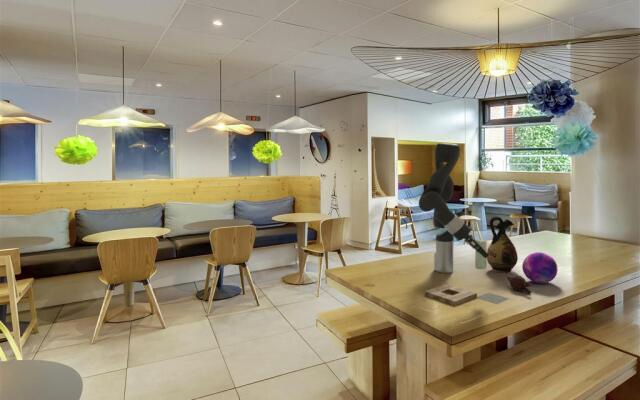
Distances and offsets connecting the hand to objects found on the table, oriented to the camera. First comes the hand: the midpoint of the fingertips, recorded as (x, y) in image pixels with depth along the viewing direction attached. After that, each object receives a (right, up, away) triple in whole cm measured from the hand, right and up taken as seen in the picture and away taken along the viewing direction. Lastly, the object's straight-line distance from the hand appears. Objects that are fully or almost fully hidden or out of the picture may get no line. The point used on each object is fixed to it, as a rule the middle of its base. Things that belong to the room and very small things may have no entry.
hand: (485, 254), depth 166 cm
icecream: (+20, -18, +12) cm, 30 cm away
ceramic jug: (+27, -15, +43) cm, 53 cm away
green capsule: (-2, -6, +1) cm, 6 cm away
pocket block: (-14, -20, +5) cm, 24 cm away
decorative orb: (+36, -17, +21) cm, 45 cm away
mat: (+4, -20, +1) cm, 20 cm away
